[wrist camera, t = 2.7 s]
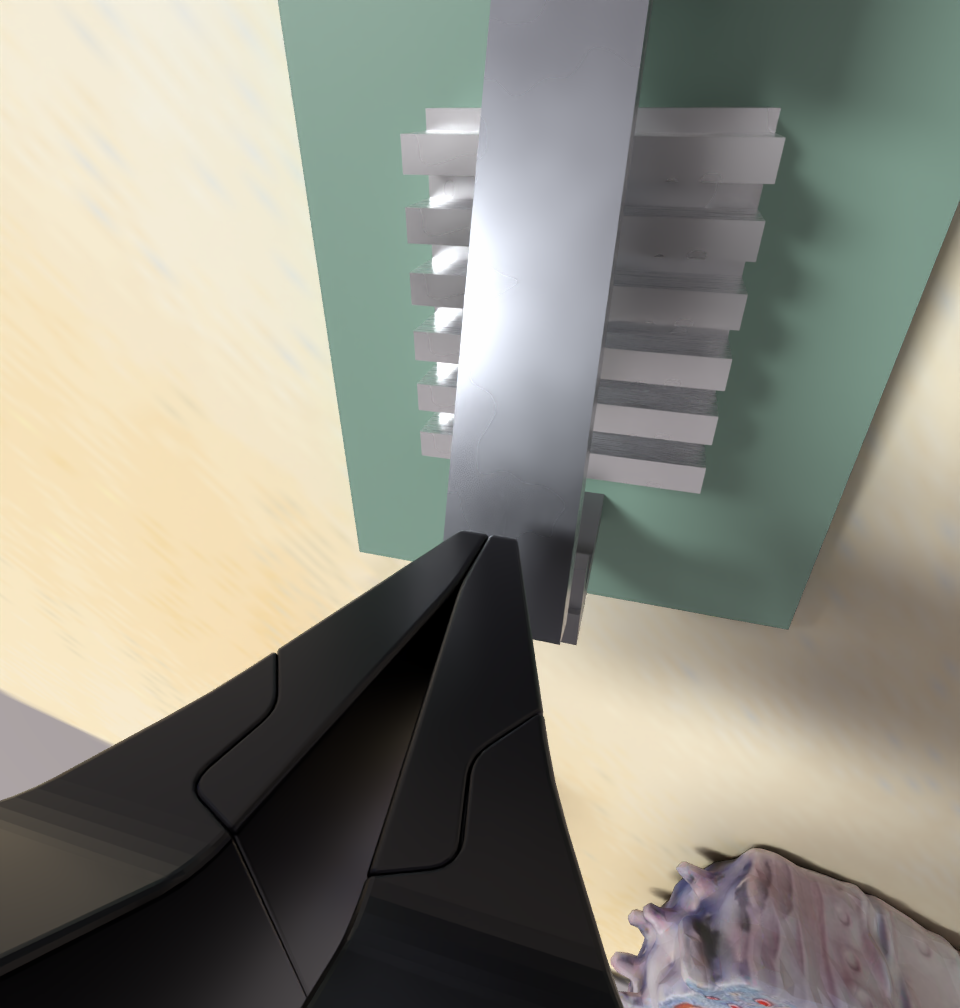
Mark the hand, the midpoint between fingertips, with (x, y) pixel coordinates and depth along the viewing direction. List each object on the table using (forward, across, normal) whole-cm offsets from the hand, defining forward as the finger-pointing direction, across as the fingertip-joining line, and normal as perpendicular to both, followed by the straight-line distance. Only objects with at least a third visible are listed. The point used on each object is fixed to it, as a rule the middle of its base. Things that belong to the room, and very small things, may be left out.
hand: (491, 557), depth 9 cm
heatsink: (+9, 0, -1) cm, 9 cm away
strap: (+4, 0, -3) cm, 5 cm away
